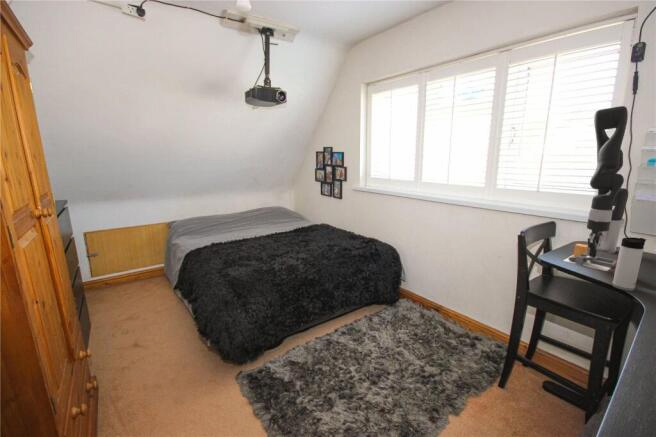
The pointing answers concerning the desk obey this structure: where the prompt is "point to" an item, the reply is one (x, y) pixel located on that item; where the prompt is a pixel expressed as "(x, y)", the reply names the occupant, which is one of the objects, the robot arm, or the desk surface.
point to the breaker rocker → (582, 256)
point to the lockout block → (580, 249)
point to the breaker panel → (589, 264)
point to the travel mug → (628, 263)
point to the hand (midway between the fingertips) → (592, 256)
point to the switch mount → (581, 259)
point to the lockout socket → (604, 262)
